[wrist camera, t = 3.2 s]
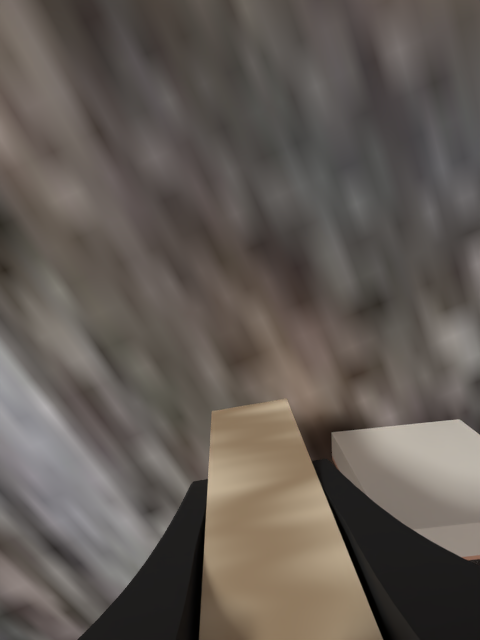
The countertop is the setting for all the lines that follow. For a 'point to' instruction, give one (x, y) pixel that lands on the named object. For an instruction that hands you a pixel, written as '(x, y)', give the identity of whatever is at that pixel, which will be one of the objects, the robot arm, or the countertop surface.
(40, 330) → the countertop surface
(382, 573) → the robot arm
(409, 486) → the tile
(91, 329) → the countertop surface
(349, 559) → the stick
